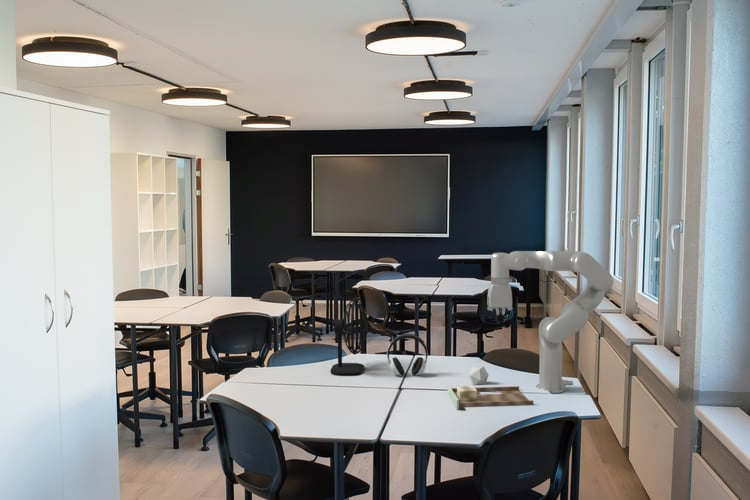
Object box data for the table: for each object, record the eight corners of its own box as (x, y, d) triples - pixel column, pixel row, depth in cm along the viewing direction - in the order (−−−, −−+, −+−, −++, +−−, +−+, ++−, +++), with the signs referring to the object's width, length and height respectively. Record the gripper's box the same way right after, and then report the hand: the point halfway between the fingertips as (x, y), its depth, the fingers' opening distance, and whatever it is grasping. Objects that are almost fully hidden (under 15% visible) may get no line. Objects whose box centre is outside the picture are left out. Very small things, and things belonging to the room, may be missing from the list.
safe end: (449, 394, 299) (449, 385, 299) (458, 409, 278) (458, 399, 277) (447, 394, 299) (447, 385, 299) (456, 409, 278) (456, 400, 277)
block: (473, 395, 293) (473, 386, 293) (477, 400, 286) (477, 390, 286) (457, 396, 293) (457, 386, 292) (460, 400, 286) (460, 391, 285)
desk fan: (365, 378, 327) (364, 303, 324) (327, 377, 328) (326, 303, 326) (369, 364, 354) (368, 295, 351) (334, 364, 355) (334, 295, 353)
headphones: (427, 373, 336) (426, 331, 334) (428, 377, 327) (428, 335, 326) (386, 373, 335) (386, 332, 334) (387, 378, 327) (387, 335, 325)
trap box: (518, 392, 301) (518, 386, 301) (533, 407, 280) (533, 400, 280) (449, 394, 299) (449, 388, 299) (458, 409, 278) (458, 403, 277)
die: (483, 389, 309) (493, 370, 312) (466, 379, 311) (476, 360, 313) (480, 390, 317) (490, 372, 320) (463, 381, 318) (474, 362, 321)
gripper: (514, 280, 306) (514, 321, 308) (480, 280, 305) (480, 322, 307) (519, 282, 299) (519, 324, 300) (484, 282, 298) (484, 325, 299)
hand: (499, 323), depth 304 cm, fingers closed
